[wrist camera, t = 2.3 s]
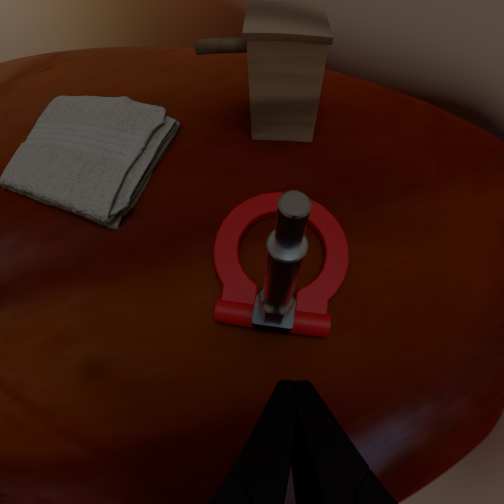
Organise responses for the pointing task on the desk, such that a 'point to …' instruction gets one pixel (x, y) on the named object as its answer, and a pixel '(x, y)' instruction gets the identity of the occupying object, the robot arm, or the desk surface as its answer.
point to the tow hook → (280, 266)
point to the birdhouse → (281, 66)
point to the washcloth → (91, 155)
